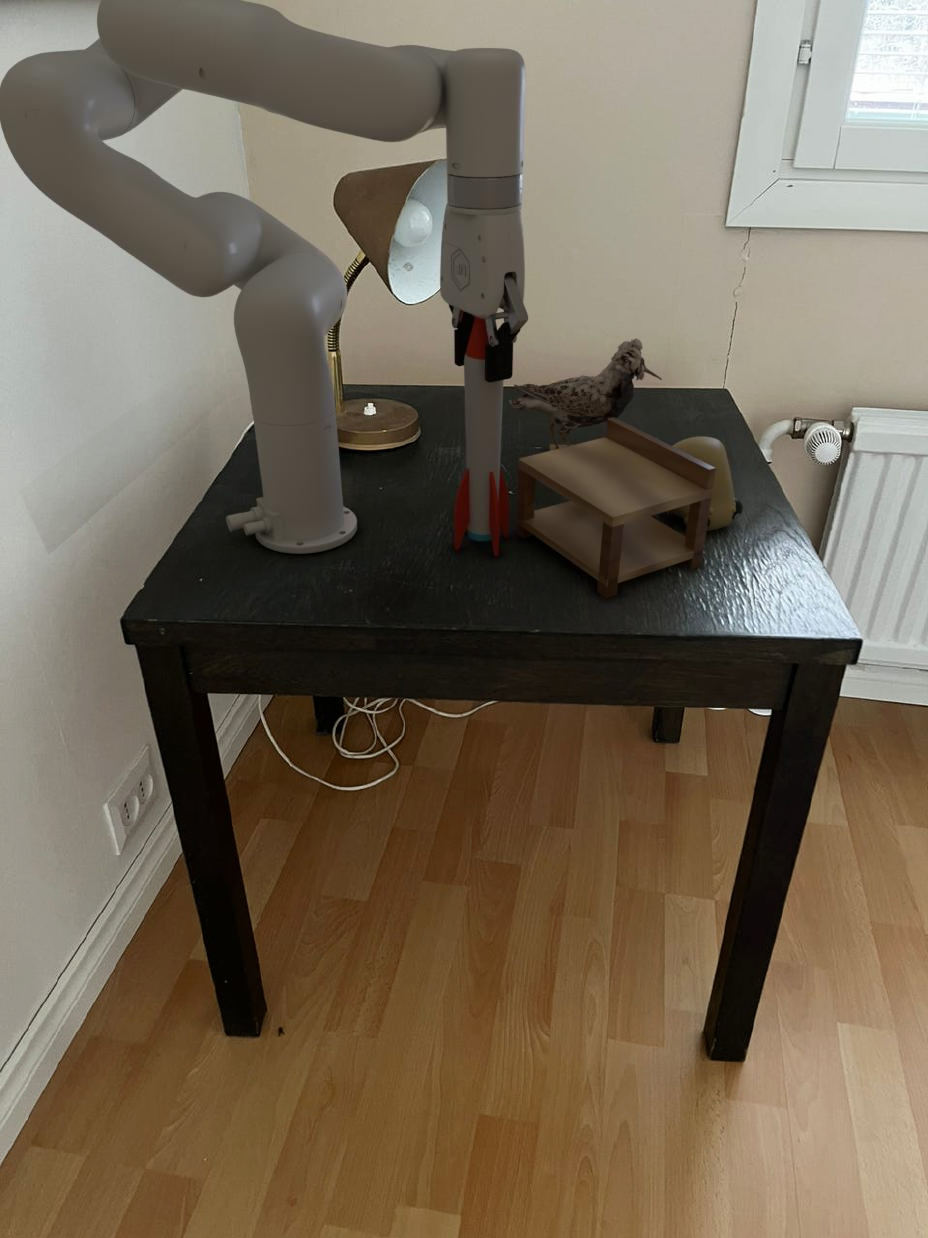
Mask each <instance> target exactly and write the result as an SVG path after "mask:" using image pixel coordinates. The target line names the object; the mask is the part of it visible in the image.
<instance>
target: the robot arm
mask: <svg viewBox="0 0 928 1238" xmlns="http://www.w3.org/2000/svg"><path fill="white" fill-rule="evenodd" d="M96 15H97V16H96V27H97V34H98V37H99V38H97V39H96V40H95V41H94V42H93V43H91V45H89V46H88V47H87V48H85V49H72V50H59V51H57V50H56V51H45V52H41V53H37V54H34V55H33V54H32V55H31V56H27V57H25V58H23V59H21V60H18V62H16V63H15V64H13V65H12V66H11V67H10V68H9V69H8V70H7V72H6V73H5V74H4V76H3V78H2V80H1V82H0V127H1V131H2V134H3V138H4V140H5V142H6V145H7V147H8V149H9V152H10V153H11V155H12V157H13V159H14V161H15V162H16V164H17V165H18V167H19V168H20V170H21V171H22V173H23V174H24V175H25V177H27V179H28V180H29V181H30V182H31V184H33V185H34V186H35V187H36V189H38V190H39V191H40V192H41V193H42V194H43V195H44V196H45V197H47V198H48V199H50V200H51V201H52V202H53V203H55V204H56V205H58V206H59V207H60V208H61V209H63V210H64V211H66V212H67V213H69V214H70V215H71V216H73V217H75V218H77V219H78V220H80V221H81V222H83V223H84V224H86V225H87V226H89V227H90V228H92V229H93V230H95V231H97V232H98V233H99V234H101V235H102V236H104V237H105V238H107V239H108V240H110V241H112V243H113V244H114V245H116V246H118V247H119V248H120V249H121V250H123V251H125V252H126V253H127V254H128V255H130V256H132V257H133V258H134V259H136V260H137V261H139V262H140V263H142V264H143V265H145V266H146V267H148V268H149V269H150V270H152V271H153V272H155V273H156V274H158V275H159V276H161V278H163V279H164V280H166V281H168V282H169V283H170V284H172V285H173V286H174V287H176V288H177V289H179V290H181V291H183V292H184V293H186V294H187V295H190V296H193V297H198V298H210V297H214V296H217V295H219V294H220V293H223V292H224V291H227V290H229V289H230V288H231V287H232V286H235V287H236V288H238V289H239V290H240V291H239V294H238V295H237V298H236V300H235V301H236V302H235V305H234V310H233V327H234V333H235V337H236V342H237V345H238V349H239V352H240V356H241V358H242V362H243V363H242V364H243V366H244V370H245V375H246V381H247V385H248V391H249V401H250V407H251V414H252V419H253V427H254V434H255V441H256V450H257V457H258V466H259V474H260V481H261V489H262V497H256V499H255V500H256V506H253V507H250V510H249V511H245V512H238V513H233V514H230V515H226V517H225V522H226V525H227V528H228V530H229V532H236V531H239V530H243V531H244V534H245V536H251V535H255V539H256V540H257V541H258V543H260V544H261V545H262V546H263V547H265V548H266V549H269V550H272V551H275V552H280V553H283V554H291V555H303V554H304V555H305V554H315V553H321V552H325V551H329V550H332V549H335V548H338V547H339V546H342V545H343V544H345V543H347V542H348V541H350V540H351V539H352V538H353V537H354V536H355V535H356V532H357V531H358V519H357V516H356V514H355V513H354V512H353V511H352V510H351V509H349V508H347V507H345V506H344V499H343V486H342V474H341V472H342V471H341V461H340V460H341V459H340V449H339V447H340V446H339V435H338V425H337V423H338V422H337V412H336V411H337V410H336V401H335V391H334V390H335V389H334V382H333V376H332V371H331V368H330V367H331V366H330V363H329V359H328V355H327V350H326V342H325V341H326V336H327V334H328V333H329V332H330V331H331V330H332V329H333V328H334V326H335V325H336V324H337V323H338V322H339V320H341V318H342V316H343V314H344V312H345V310H346V307H347V302H348V287H347V282H346V279H345V277H344V275H343V273H342V271H341V270H340V268H339V267H338V266H337V264H336V263H335V262H334V261H333V260H332V259H331V258H330V257H329V256H328V255H327V254H326V253H325V252H323V251H322V250H320V248H318V247H316V246H315V245H314V244H313V243H311V242H309V240H307V239H306V238H304V237H303V236H301V235H300V234H298V232H296V231H294V230H293V229H291V228H290V227H289V226H287V225H286V224H285V223H283V222H282V221H281V220H279V219H278V218H276V217H275V216H274V215H272V214H271V213H269V211H267V210H265V209H264V208H262V207H261V206H259V205H258V204H256V203H254V202H253V201H251V200H250V199H247V198H245V197H243V196H241V195H239V194H235V193H233V192H228V191H214V192H209V193H205V194H202V195H199V196H197V197H195V196H192V195H190V194H188V193H186V192H184V191H183V190H180V189H179V188H178V187H176V186H174V185H173V184H171V183H170V182H169V181H167V180H166V179H164V178H162V176H160V175H158V174H157V173H156V172H155V171H154V170H152V169H151V168H150V167H148V166H147V165H145V164H143V163H142V162H140V161H139V160H137V159H134V158H133V157H130V156H129V155H127V154H125V153H123V152H120V151H119V150H116V149H114V148H113V147H111V146H109V145H108V144H107V143H105V142H104V141H109V140H112V139H116V138H119V137H122V136H124V135H125V134H127V133H128V132H131V131H132V130H134V129H136V128H137V127H138V126H139V125H141V124H142V123H143V122H144V121H145V120H148V118H149V117H151V116H152V115H153V114H154V113H156V112H157V111H158V110H159V109H161V107H163V106H164V105H165V104H166V103H168V102H169V101H170V100H172V98H174V97H175V96H177V94H179V93H180V92H181V91H182V90H185V91H191V92H194V93H195V92H196V93H198V94H199V93H200V94H204V95H208V96H212V97H216V98H220V99H224V100H227V101H233V102H237V103H240V104H241V103H242V104H245V105H249V106H253V107H256V108H260V109H262V110H264V111H266V112H269V113H271V114H275V115H280V116H283V117H286V118H289V119H291V120H294V121H297V122H300V123H303V124H306V125H309V126H313V127H317V128H320V129H325V130H328V131H332V132H337V133H341V134H346V135H350V136H354V137H358V138H363V139H368V140H372V141H377V142H383V143H400V142H405V141H408V140H410V139H412V138H414V137H415V136H417V135H419V134H422V133H425V132H427V131H430V130H431V131H432V130H437V129H445V147H446V148H445V152H446V153H445V154H446V156H445V157H446V160H445V161H446V173H445V174H446V205H445V209H444V213H443V222H442V229H441V231H442V232H441V242H440V243H441V244H440V265H439V266H440V268H439V293H440V296H441V299H442V300H443V301H444V302H445V303H447V304H448V308H449V310H450V312H451V315H452V316H451V327H452V328H453V338H454V339H453V347H454V348H453V351H454V352H453V353H454V354H453V355H454V357H453V359H454V361H453V362H454V365H456V366H457V367H464V358H465V354H466V350H467V346H468V343H469V339H470V335H471V332H472V328H473V324H474V320H475V316H476V317H478V318H482V319H484V318H485V321H486V327H487V333H488V339H489V343H490V344H486V345H485V380H486V381H487V382H489V383H491V382H496V381H501V380H504V381H506V380H511V379H512V378H513V373H514V372H513V371H514V343H517V339H518V337H517V336H518V335H519V333H520V332H521V329H522V328H523V327H524V326H525V324H526V323H528V321H529V314H528V312H527V309H526V306H525V303H524V299H525V285H526V267H525V265H526V264H525V241H524V227H523V219H522V212H521V211H522V210H523V180H524V179H523V178H524V176H523V175H524V173H523V172H524V171H523V170H524V139H525V109H526V108H525V107H526V105H525V104H526V64H525V59H524V58H523V56H522V54H521V53H520V52H519V51H516V50H515V49H511V48H502V47H501V48H500V47H474V48H472V47H470V48H461V49H457V50H450V49H449V50H448V49H442V48H435V47H430V46H423V45H418V44H417V45H416V44H402V45H401V44H399V45H394V46H382V45H377V44H373V43H368V42H363V41H359V40H355V39H351V38H345V37H342V36H337V35H334V34H329V33H325V32H322V31H318V30H315V29H311V28H308V27H305V26H302V25H301V24H297V23H295V22H293V21H291V20H290V19H288V18H286V16H284V14H283V13H281V11H279V10H278V9H276V8H273V7H270V6H268V5H265V4H261V3H256V2H253V1H252V2H251V1H247V0H101V1H100V2H99V5H98V9H97V14H96ZM499 309H501V310H503V311H501V312H499ZM502 319H503V322H502V323H501V325H500V326H499V327H497V326H498V325H497V320H502Z"/></svg>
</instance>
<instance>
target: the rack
mask: <svg viewBox="0 0 928 1238" xmlns="http://www.w3.org/2000/svg"><path fill="white" fill-rule="evenodd" d="M571 445H572V446H568V447H564V448H560V449H556V450H552V451H549V450H547V451H544V452H539V453H536V454H532V455H527V456H523V457H520V458H519V457H518V459H517V460H518V461H517V464H518V465H517V492H516V495H517V497H516V528H515V534H516V535H518V536H519V537H520V538H521V539H526V538H530V537H533V536H534V537H536V538H537V539H539V540H540V541H541V542H543V543H544V544H545V545H547V546H549V547H550V548H552V549H553V550H554V551H556V552H557V553H558V554H560V555H561V556H562V557H564V558H565V559H566V560H568V561H569V562H571V563H572V564H574V565H575V566H577V567H578V568H580V569H581V570H582V571H584V572H585V573H587V574H588V575H589V576H591V577H592V578H593V579H595V580H596V581H597V589H596V592H597V594H599V595H600V596H601V597H603V598H604V599H608V598H611V597H615V596H617V594H618V586H619V583H622V582H626V581H629V580H632V579H635V578H638V577H640V576H644V575H647V574H649V573H653V572H656V571H659V570H662V569H665V568H667V567H671V566H674V565H676V564H680V563H681V565H682V566H684V567H685V568H687V569H689V570H694V569H697V568H700V567H702V562H703V561H702V560H703V554H704V548H705V543H706V542H705V541H706V534H707V531H706V529H707V523H708V516H709V509H710V503H711V497H712V490H713V484H714V477H715V471H716V468H715V467H713V466H711V465H709V464H707V463H705V462H703V461H701V460H699V459H697V458H695V457H693V456H691V455H689V454H687V453H685V452H683V451H681V450H679V449H677V448H674V447H672V446H673V445H670V444H669V443H666V442H665V441H662V440H661V439H658V438H657V437H655V436H653V435H650V434H648V433H646V432H644V431H642V430H640V429H638V428H637V427H634V426H632V425H630V424H628V423H626V422H624V421H622V420H620V419H618V418H614V417H612V418H608V419H607V422H606V430H605V437H601V438H596V439H592V440H588V441H585V442H581V443H577V444H571ZM537 481H538V482H540V483H541V484H542V485H545V486H546V487H547V488H549V489H551V490H552V491H554V492H555V493H557V494H558V495H560V496H562V497H563V498H565V499H567V500H568V501H565V502H561V503H558V504H554V505H550V506H546V507H543V508H540V509H536V488H537V487H536V485H537ZM689 504H690V508H689V516H688V523H687V526H686V531H685V535H683V534H681V533H680V532H678V531H676V530H675V529H673V528H671V527H669V526H668V525H666V524H664V523H662V522H661V521H660V520H658V519H656V518H654V517H653V516H655V515H658V514H662V513H665V512H669V511H670V510H672V509H675V508H679V507H682V506H685V505H689Z"/></svg>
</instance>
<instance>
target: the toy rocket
mask: <svg viewBox="0 0 928 1238" xmlns="http://www.w3.org/2000/svg"><path fill="white" fill-rule="evenodd" d="M486 344H490V343H489V339H488V333H487V327H486V321H485V318H484V319H482V318H478V317H476V316H475V320H474V324H473V328H472V332H471V335H470V339H469V343H468V346H467V350H466V354H465V358H464V366H463V376H464V377H463V383H464V420H465V423H464V424H465V425H464V426H465V461H466V462H465V463H466V465H465V466H466V467H465V468H466V470H465V472H464V474H463V477H462V479H461V481H460V484H459V487H458V490H457V493H456V499H455V504H454V514H453V515H454V517H453V534H454V549H455V551H458V550H459V549H460V548H461V545H462V541H463V538H464V535H465V533H466V532H467V536H468V537H469V538H470V539H471V540H473V541H476V542H489V541H491V543H492V551H493V554H494V557H498V556H500V555H499V554H500V530H501V534H502V535H503V537H505V538H507V539H508V538H509V519H510V502H509V492H508V487H507V483H506V481H505V476H504V475H503V472H502V471H501V453H502V452H501V451H502V449H501V448H502V447H501V446H502V427H503V424H502V423H503V406H504V405H503V403H504V402H503V401H504V381H505V380H501V381H496V382H491V383H489V382H487V381H486V380H485V345H486Z"/></svg>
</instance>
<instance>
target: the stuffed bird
mask: <svg viewBox="0 0 928 1238" xmlns="http://www.w3.org/2000/svg"><path fill="white" fill-rule="evenodd" d="M642 350H643V343H642V341H641V340H640V339H639V338H636V337H635V338H634V339H631V341H629V340H625V341H623V342H622V343H620V344H619V345H618V347H617V351H616V352H614V354H613V356H611V359H610V360H611V361H610V362H609V363H608V364H607V366H605V367H604V368H603V369H602V370H601V371H600V373H599V374H597V375H594V376H593V375H580V376H576V377H575V376H574V377H569V378H565V379H562V380H558V381H555V382H552V383H550V384H541V385H538V384H534V383H524V384H522V385H521V384H520V385H519V384H513V387H514V388H516V391H518V392H521V393H524V394H522V395H521V396H520V397H519V398H517V399H515V400H513V399H509V404H510V406H512V408H513V409H514V410H515V411H516V412H517V413H519V412H520V411H524V410H532V411H536V412H539V413H543V414H546V416H547V417H548V419H549V420H551V422H552V423H551V424H550V425H549V431H550V434H551V436H552V440H553V442H554V444H553V443H550V444H549V447H548V448H549V449H548V451H552V450H556V449H560V448H564V447H568V446H572V445H573V444H571V443H570V441H568V438H567V437H568V434H569V435H570V434H573V432H572V430H576V429H580V428H586V427H592V426H598V425H600V424H602V423H605V422H606V423H607V419H608V418H612V417H614V418H616V419H618V418H619V417H620V416H621V415H622V414H623V412H624V411H625V409H626V407H627V406H628V405H629V404H630V402H631V401H632V400H633V398H634V396H635V386H634V382H633V380H634V379H635V377H636V379H635V380H636V381H639V380H640V381H643V379H644V377H645V373H646V374H649V375H651V376H652V377H655V378H656V379H659V380H660V381H663V378H662V377H660V376H659V375H657V374H656V373H654V372H653V371H651V370H650V369H649V368H647V366H646V364H645V359H644V357H643V356H642ZM555 426H557V427H558V426H559V429H558V430H557V431H556V433H555V432H554V427H555ZM555 434H556V435H557V434H558V435H559V438H560V437H561V438H562V440H563V442H564V443H565V444H558V441H557V438H556V435H555Z"/></svg>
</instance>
